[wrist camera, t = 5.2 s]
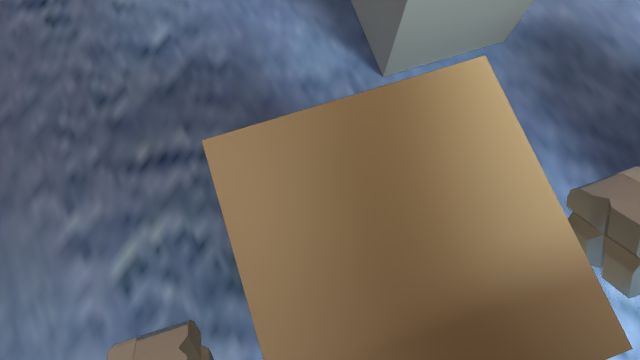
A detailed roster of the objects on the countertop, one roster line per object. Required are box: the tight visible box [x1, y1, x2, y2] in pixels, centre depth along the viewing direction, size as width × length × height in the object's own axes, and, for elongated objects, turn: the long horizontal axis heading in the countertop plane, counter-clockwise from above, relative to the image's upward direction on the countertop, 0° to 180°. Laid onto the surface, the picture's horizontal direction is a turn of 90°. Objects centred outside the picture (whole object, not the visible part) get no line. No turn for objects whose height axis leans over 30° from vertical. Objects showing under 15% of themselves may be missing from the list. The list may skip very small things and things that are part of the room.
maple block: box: [202, 56, 633, 360], centre depth 11 cm, size 5×5×8 cm
